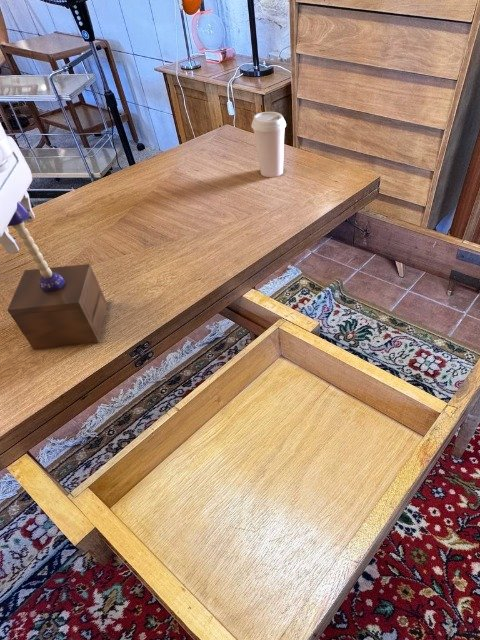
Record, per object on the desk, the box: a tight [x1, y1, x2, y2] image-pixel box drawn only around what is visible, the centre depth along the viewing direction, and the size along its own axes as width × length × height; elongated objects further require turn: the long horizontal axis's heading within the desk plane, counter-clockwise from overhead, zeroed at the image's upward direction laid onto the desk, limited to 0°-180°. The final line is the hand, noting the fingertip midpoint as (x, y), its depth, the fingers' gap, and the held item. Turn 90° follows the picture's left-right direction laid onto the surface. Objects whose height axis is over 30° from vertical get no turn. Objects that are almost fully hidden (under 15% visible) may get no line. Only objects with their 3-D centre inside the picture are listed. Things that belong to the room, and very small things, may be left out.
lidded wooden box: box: [6, 263, 108, 350], centre depth 84 cm, size 12×12×10 cm
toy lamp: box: [7, 201, 65, 291], centre depth 73 cm, size 5×5×17 cm
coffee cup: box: [251, 111, 287, 178], centre depth 125 cm, size 10×10×15 cm
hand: (22, 235), depth 72 cm, fingers open, 8 cm apart
